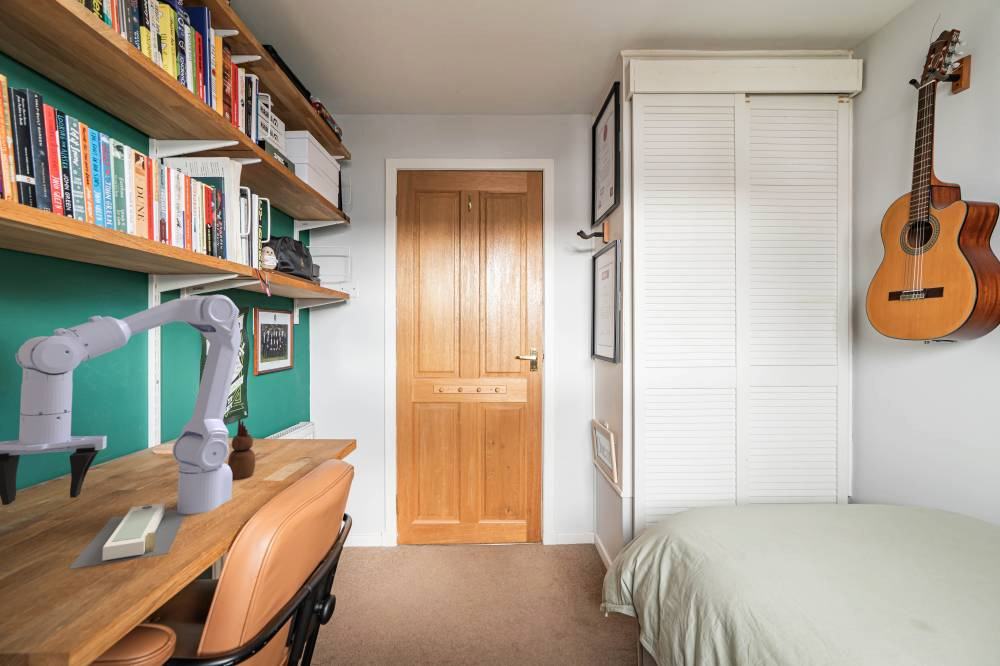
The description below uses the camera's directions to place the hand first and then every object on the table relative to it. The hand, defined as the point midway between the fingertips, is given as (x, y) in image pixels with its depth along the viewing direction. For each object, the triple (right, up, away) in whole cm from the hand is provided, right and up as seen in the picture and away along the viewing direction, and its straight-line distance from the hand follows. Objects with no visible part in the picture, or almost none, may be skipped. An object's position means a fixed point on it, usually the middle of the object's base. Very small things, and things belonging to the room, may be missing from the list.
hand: (42, 499), depth 70 cm
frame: (+9, -9, +7) cm, 14 cm away
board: (+8, -10, +8) cm, 15 cm away
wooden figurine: (+7, -11, +41) cm, 43 cm away
